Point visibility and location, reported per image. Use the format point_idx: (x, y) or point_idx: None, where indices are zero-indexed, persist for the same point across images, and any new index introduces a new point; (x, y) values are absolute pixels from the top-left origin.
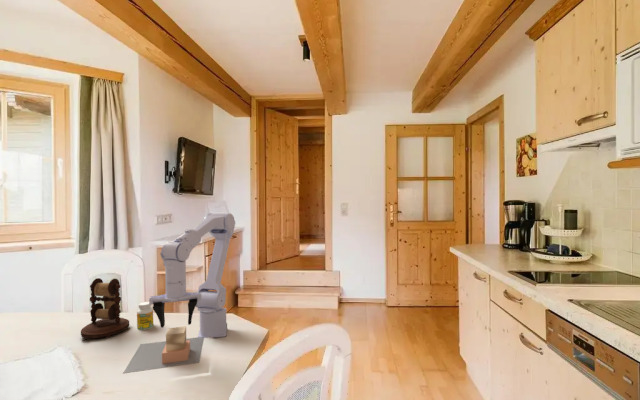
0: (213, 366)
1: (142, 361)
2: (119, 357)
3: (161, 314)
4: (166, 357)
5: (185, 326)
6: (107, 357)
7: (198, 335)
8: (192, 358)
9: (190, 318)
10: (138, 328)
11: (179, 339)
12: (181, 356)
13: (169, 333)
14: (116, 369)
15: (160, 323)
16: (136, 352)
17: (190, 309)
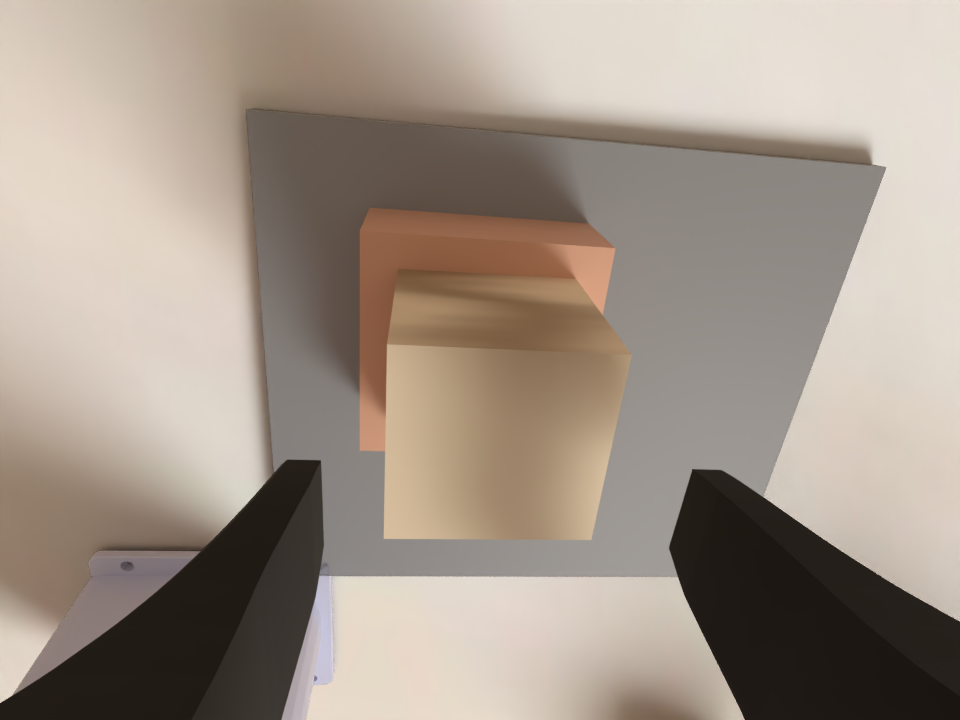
0: (86, 7)
1: (735, 317)
2: (861, 453)
3: (875, 627)
4: (562, 234)
5: (391, 536)
6: (927, 475)
7: (330, 602)
8: (326, 223)
9: (247, 518)
10: None
11: (448, 314)
12: (423, 221)
13: (586, 386)
14: (901, 284)
15: (770, 504)
16: (765, 471)
17: (143, 685)
